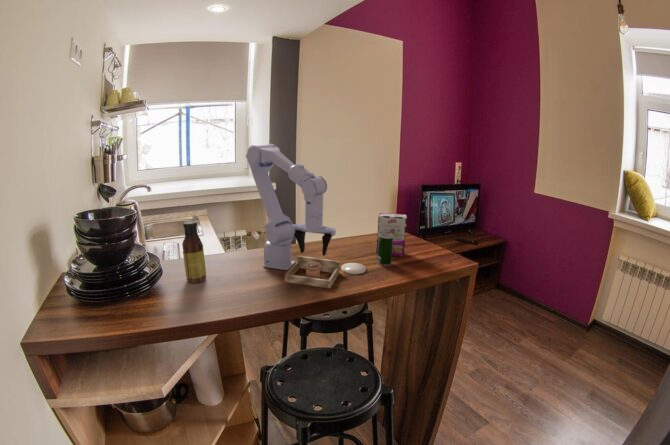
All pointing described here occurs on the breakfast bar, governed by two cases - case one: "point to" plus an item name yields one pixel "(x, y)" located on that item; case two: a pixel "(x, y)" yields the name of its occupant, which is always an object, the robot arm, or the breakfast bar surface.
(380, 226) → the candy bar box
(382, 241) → the beer can
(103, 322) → the breakfast bar surface
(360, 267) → the coaster
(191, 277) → the sauce bottle
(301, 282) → the frame
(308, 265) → the flower pot
